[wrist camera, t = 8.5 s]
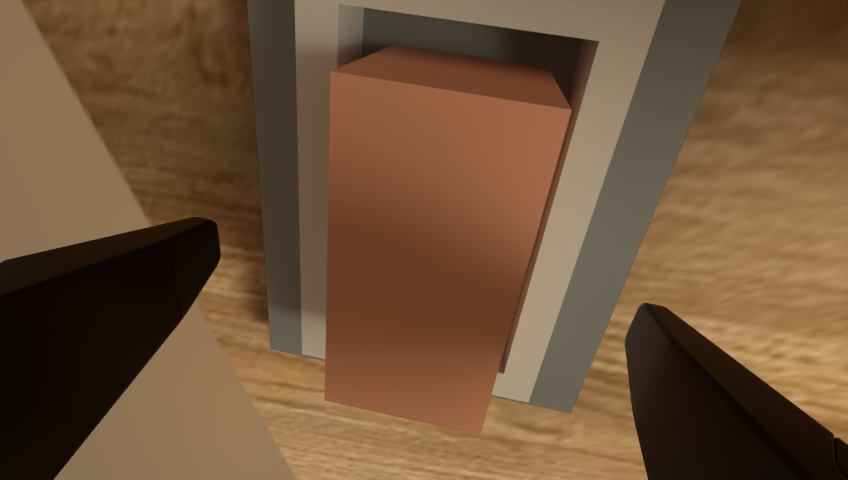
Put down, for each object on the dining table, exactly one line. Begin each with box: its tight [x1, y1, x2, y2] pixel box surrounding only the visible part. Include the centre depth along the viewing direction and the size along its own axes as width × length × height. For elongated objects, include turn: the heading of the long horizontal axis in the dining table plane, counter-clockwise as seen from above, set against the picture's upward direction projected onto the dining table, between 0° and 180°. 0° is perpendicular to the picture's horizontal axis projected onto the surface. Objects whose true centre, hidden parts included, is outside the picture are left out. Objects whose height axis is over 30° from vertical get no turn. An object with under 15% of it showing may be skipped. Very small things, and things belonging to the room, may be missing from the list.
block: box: [325, 44, 572, 435], centre depth 11 cm, size 8×4×5 cm, turn 173°
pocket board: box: [247, 0, 742, 413], centre depth 13 cm, size 16×12×4 cm
